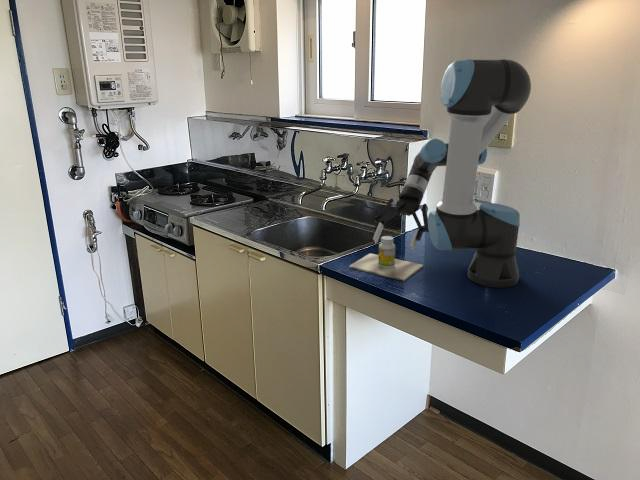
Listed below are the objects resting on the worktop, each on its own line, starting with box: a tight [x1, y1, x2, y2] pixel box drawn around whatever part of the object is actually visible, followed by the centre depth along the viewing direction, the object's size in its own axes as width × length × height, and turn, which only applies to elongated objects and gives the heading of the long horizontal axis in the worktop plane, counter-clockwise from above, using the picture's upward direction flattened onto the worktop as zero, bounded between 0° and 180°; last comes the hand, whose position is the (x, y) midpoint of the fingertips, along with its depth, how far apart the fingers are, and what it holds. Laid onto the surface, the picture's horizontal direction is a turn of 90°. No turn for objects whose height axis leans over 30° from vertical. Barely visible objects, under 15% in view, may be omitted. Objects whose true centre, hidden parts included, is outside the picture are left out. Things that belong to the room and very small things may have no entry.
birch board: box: [348, 253, 424, 282], centre depth 171 cm, size 20×14×1 cm
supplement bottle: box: [378, 235, 396, 268], centre depth 169 cm, size 5×5×10 cm
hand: (392, 244), depth 173 cm, fingers open, 13 cm apart
